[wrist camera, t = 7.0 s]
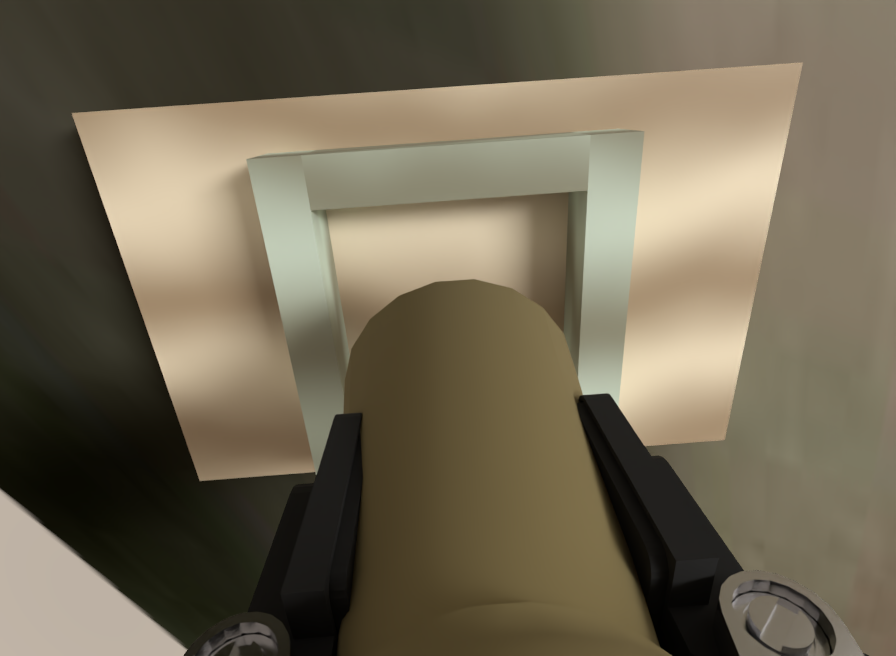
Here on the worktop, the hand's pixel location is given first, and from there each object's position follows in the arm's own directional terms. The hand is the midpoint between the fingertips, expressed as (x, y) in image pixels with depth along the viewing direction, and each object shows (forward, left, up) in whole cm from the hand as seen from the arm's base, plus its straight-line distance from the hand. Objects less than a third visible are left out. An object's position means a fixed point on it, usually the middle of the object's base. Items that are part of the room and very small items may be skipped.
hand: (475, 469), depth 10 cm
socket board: (0, 0, -10) cm, 10 cm away
